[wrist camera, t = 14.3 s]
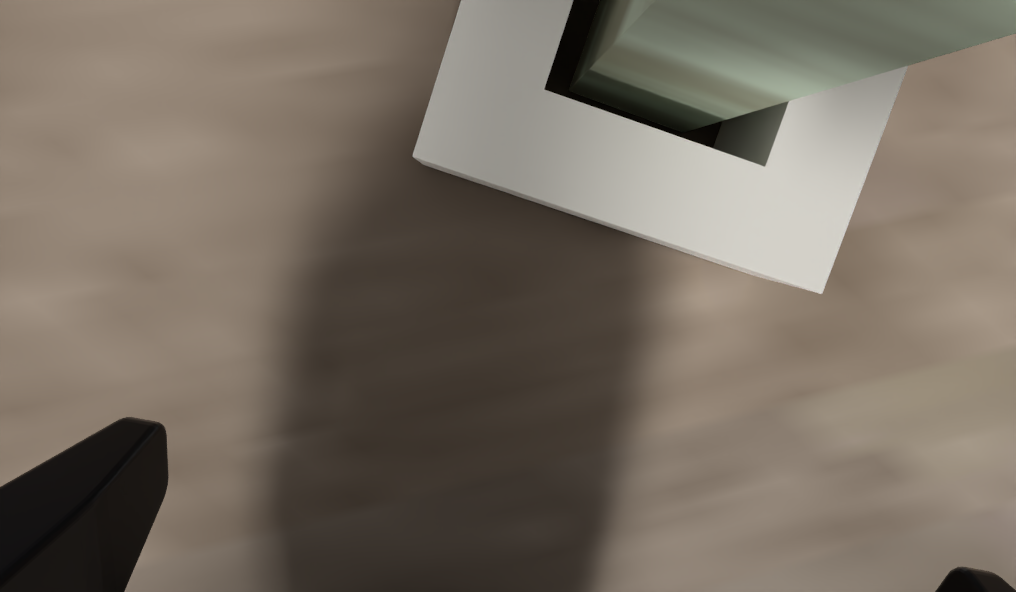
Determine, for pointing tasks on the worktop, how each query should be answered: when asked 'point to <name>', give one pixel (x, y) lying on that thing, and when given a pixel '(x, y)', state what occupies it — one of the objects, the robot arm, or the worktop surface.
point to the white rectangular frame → (653, 151)
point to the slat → (763, 50)
